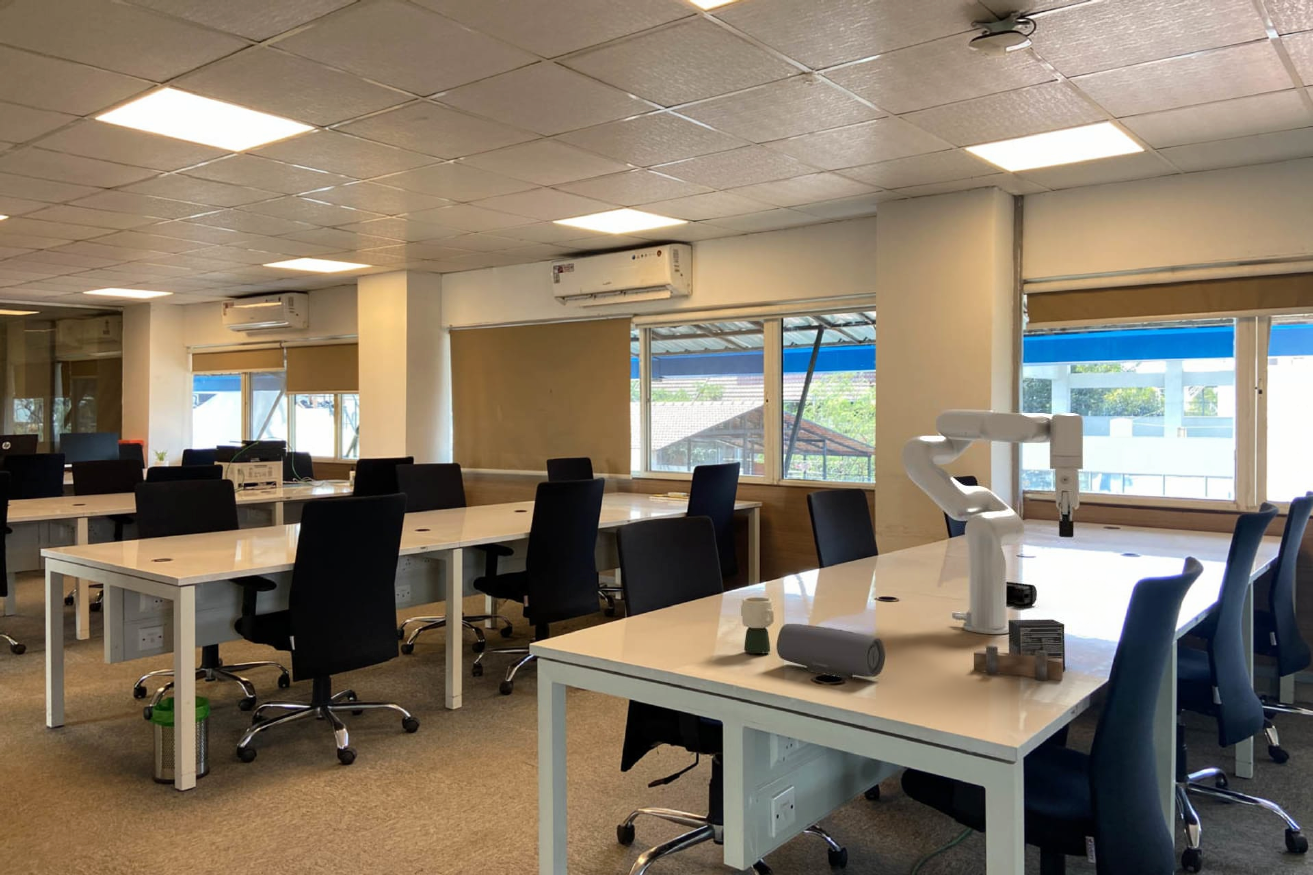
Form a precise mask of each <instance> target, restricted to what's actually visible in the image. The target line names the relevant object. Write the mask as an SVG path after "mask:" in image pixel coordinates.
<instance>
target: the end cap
mask: <svg viewBox="0 0 1313 875" xmlns="http://www.w3.org/2000/svg"><path fill="white" fill-rule="evenodd" d="M1037 595H1038V590H1037V588H1036V586H1035V585H1034V584H1028V583H1019V582H1012V581H1006V607H1011V606H1014V607H1013V608H1018V607H1019V608H1020V609H1028V608H1031V607H1032V606H1033V605H1034V604H1035V603H1036V601H1037V597H1038V596H1037Z"/></svg>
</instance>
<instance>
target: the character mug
mask: <svg viewBox="0 0 1313 875" xmlns="http://www.w3.org/2000/svg"><path fill="white" fill-rule="evenodd" d="M740 615H741V617H742V625H743V626H744V627H747V629H746V632H745V639H744V647H743V649H744V652H745V653H750V654H760V655H763V654H762V653H770V652H771V643H770V642H771V641H770V635H769V630H768V629H767V628H768V627H770V626H771V625H772V624H774V621H775V620H774V619H775V614H774V610H773V602H772V598H769V597H763V596H760V597H759V596H749V597H743V598H742V601H741V605H740Z"/></svg>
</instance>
